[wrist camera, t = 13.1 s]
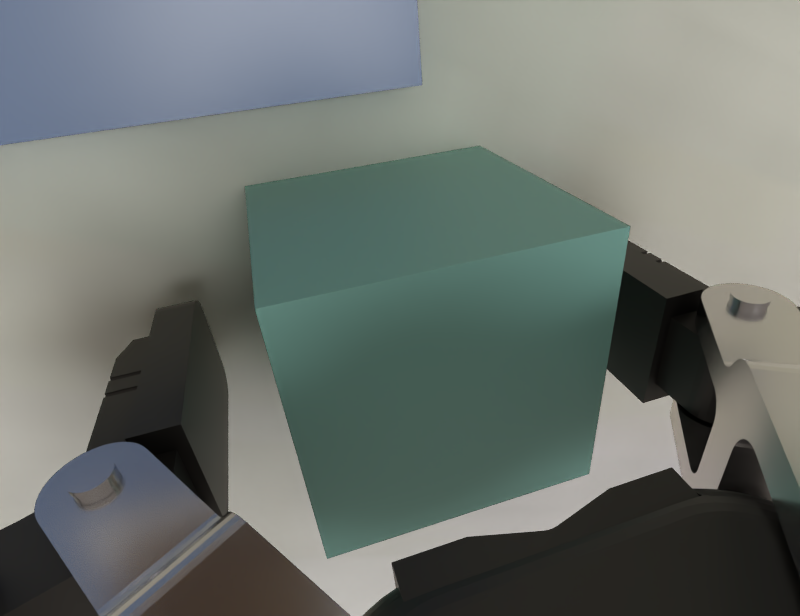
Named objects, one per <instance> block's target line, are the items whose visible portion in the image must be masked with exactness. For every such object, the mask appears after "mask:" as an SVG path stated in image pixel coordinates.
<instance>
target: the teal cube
mask: <svg viewBox="0 0 800 616" xmlns="http://www.w3.org/2000/svg"><path fill="white" fill-rule="evenodd" d="M245 194H246V206H247V219H248V231H249V243H250V256H251V268H252V281H253V293H254V306H255V312H256V315H257V319H258V322H259V325H260V329H261V332H262V336H263V339H264V343H265V346H266V350H267V353H268V356H269V360H270V363H271V367H272V370H273V374H274V377H275V381H276V384H277V387H278V391H279V394H280V398H281V401H282V405H283V408H284V412H285V415H286V419H287V422H288V425H289V429H290V432H291V436H292V439H293V443H294V446H295V450H296V453H297V456H298V460H299V463H300V467H301V470H302V474H303V477H304V481H305V484H306V487H307V491H308V494H309V498H310V501H311V505H312V508H313V512H314V515H315V518H316V522H317V525H318V529H319V532H320V536H321V539H322V543H323V546H324V550H325V553H326V556H327V559H328V558H331V557H334V556H337V555H340V554H344V553H347V552H350V551H353V550H356V549H359V548H362V547H365V546H368V545H371V544H374V543H377V542H381V541H384V540H387V539H390V538H393V537H396V536H399V535H402V534H405V533H408V532H411V531H414V530H417V529H421V528H424V527H427V526H430V525H433V524H436V523H439V522H442V521H445V520H448V519H451V518H454V517H458V516H461V515H464V514H467V513H470V512H473V511H476V510H479V509H482V508H485V507H488V506H491V505H495V504H498V503H501V502H504V501H507V500H510V499H513V498H516V497H519V496H522V495H525V494H528V493H532V492H535V491H538V490H541V489H544V488H547V487H550V486H553V485H556V484H559V483H562V482H565V481H568V480H572V479H575V478H578V477H581V476H584V475H587V474H589V471H590V465H591V459H592V453H593V447H594V441H595V435H596V429H597V423H598V417H599V411H600V405H601V399H602V393H603V387H604V381H605V375H606V369H607V363H608V357H609V351H610V345H611V339H612V333H613V327H614V321H615V315H616V309H617V303H618V297H619V291H620V285H621V279H622V273H623V267H624V261H625V255H626V249H627V243H628V237H629V231H630V226H629V225H627V224H625V223H623V222H621V221H619V220H617V219H616V218H614V217H612V216H610V215H608V214H606V213H604V212H603V211H601V210H599V209H597V208H595V207H593V206H591V205H589V204H588V203H586V202H584V201H582V200H580V199H578V198H576V197H575V196H573V195H571V194H569V193H567V192H565V191H563V190H561V189H560V188H558V187H556V186H554V185H552V184H550V183H548V182H547V181H545V180H543V179H541V178H539V177H537V176H535V175H533V174H532V173H530V172H528V171H526V170H524V169H522V168H520V167H519V166H517V165H515V164H513V163H511V162H509V161H507V160H505V159H504V158H502V157H500V156H498V155H496V154H494V153H492V152H491V151H489V150H487V149H485V148H483V147H481V146H475V147H470V148H464V149H458V150H452V151H447V152H441V153H435V154H429V155H423V156H418V157H412V158H406V159H400V160H395V161H389V162H383V163H377V164H371V165H366V166H360V167H354V168H348V169H342V170H337V171H331V172H325V173H319V174H314V175H308V176H302V177H296V178H290V179H285V180H279V181H273V182H267V183H261V184H256V185H250V186H245Z"/></svg>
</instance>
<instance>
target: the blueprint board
mask: <svg viewBox="0 0 800 616" xmlns="http://www.w3.org/2000/svg"><path fill="white" fill-rule="evenodd" d="M419 85H422V73H421V56H420V40H419V23H418V6H417V0H0V145H5V144H12V143H19V142H26V141H33V140H40V139H47V138H54V137H61V136H68V135H75V134H82V133H89V132H96V131H103V130H110V129H117V128H124V127H131V126H138V125H145V124H152V123H159V122H167V121H174V120H181V119H188V118H195V117H202V116H209V115H216V114H223V113H230V112H237V111H244V110H251V109H258V108H265V107H272V106H279V105H286V104H293V103H300V102H307V101H314V100H321V99H328V98H335V97H342V96H349V95H356V94H363V93H370V92H377V91H384V90H391V89H398V88H405V87H412V86H419Z"/></svg>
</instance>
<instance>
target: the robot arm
mask: <svg viewBox="0 0 800 616" xmlns="http://www.w3.org/2000/svg"><path fill="white" fill-rule="evenodd" d="M607 369H608V370H609V371H610V372H611V373H612V374H613V375H614V376H615V377H616V378H617V379H618V380H619V381H620V382H621V383H622V384H624V385H625V386H626V387H627V388H628V389H629V390H630V391H631V392H632V393H633V394H634V395H635V396H636V397H637V398H638V399H639V400H640V401H641V402H643V403H645V402H648V401H651V400H655V399H658V398H661V397H664V396H668V395H670V396H671V397H672V398H673V403H672V407H671V411H670V418H671V423H672V428H673V434H674V439H675V444H676V449H677V455H678V460H679V465H680V471H681V476H682V477H681V476H680V475H679V474H678V473H677V472H676V471H675V470H674V469H673V468H669V469H666V470H663V471H660V472H657V473H654V474H651V475H648V476H645V477H642V478H639V479H636V480H633V481H630V482H627V483H624V484H622V485H619V486H616V487H613V488H610V489H608V490H607V491H605V492H604V493H602V494H601V495H600V496H598V497H597V498H595V499H594V500H593V501H591V502H590V503H589V504H587V505H586V506H584V507H583V508H582V509H580V510H579V511H577V512H576V513H575V514H573V515H572V516H571V517H569V518H568V519H566V520H565V521H564V522H562V523H561V524H559V525H558V526H556V527H555V528H553V529H550V530H546V531H536V532H524V533H511V534H499V535H486V536H474V537H466V538H463V539H460V540H457V541H454V542H451V543H448V544H445V545H442V546H439V547H436V548H433V549H430V550H427V551H424V552H421V553H418V554H416V555H413V556H410V557H407V558H404V559H401V560H398V561H395V562H392V568H393V573H394V579H395V585H396V589H394V590H393V591H392V592H390V593H389V594H387V595H386V596H384V597H383V598H382V599H380V600H379V601H378V602H377V603H376V604H375V605H374V606H373V607H371V608H370V609H369V610H368V611H367V612H366V613H365V614H364V615H363V616H800V307H796V305H795V304H794V303H793V302H792V301H790V300H789V299H788V298H786V297H785V296H783V295H781V294H779V293H777V292H774V291H772V290H769V289H766V288H763V287H758V286H754V285H748V284H739V283H726V284H718V285H714V286H711V287H708V286H707V285H705V284H703V283H701V282H700V281H698V280H696V279H694V278H693V277H691V276H689V275H688V274H686V273H684V272H682V271H681V270H679V269H677V268H675V267H674V266H672V265H670V264H668V263H667V262H662V261H661V259H660V258H658V257H656V256H654V255H653V254H651V253H649V254H647V251H646V250H644V249H642V248H640V247H639V246H637V245H635V244H633V243H632V242H630V241H628V243H627V249H626V255H625V261H624V267H623V273H622V279H621V285H620V291H619V297H618V303H617V309H616V315H615V321H614V327H613V333H612V339H611V345H610V351H609V357H608V363H607ZM110 379H111V381H109V383H108V386H107V389H106V392H105V395H106V397H105V398H103V401H102V404H101V407H100V411H99V414H98V417H97V420H96V423H95V426H94V429H93V432H92V435H91V438H90V442H89V445H88V448H87V451H86V452H85V453H83V454H81V455H80V456H78V457H76V458H74V459H73V460H72V461H70V462H69V463H67V464H66V465H64V466H63V467H62V468H61V469H60V470H58V471H57V472H56V473H55V474H54V475H53V476H52V477H51V478H50V479H49V481H48V482H47V483H46V484H45V486H44V487H43V488H42V490H41V492H40V493H39V495H38V498H37V500H36V503H35V509H34V511H35V512H34V513H32V514H30V515H29V516H27V517H25V518H23V519H21V520H20V521H18V522H16V523H14V524H12V525H10V526H8V527H6V528H4V529H2V530H0V616H350V615H349V614H348V613H347V612H346V611H345V610H344V609H342V608H341V607H340V606H339V605H338V604H337V603H336V602H335V601H334V600H332V599H331V598H330V597H329V596H328V595H327V594H326V593H325V592H324V591H322V590H321V589H320V588H319V587H318V586H317V585H316V584H315V583H314V582H312V581H311V580H310V579H309V578H308V577H307V576H306V575H305V574H304V573H302V572H301V571H300V570H299V569H298V568H297V567H296V566H295V565H293V564H292V563H291V562H290V561H289V560H288V559H287V558H286V557H285V556H283V555H282V554H281V553H280V552H279V551H278V550H277V549H276V548H275V547H273V546H272V545H271V544H270V543H269V542H268V541H267V540H266V539H265V538H263V537H262V536H261V535H260V534H259V533H258V532H257V531H256V530H255V529H253V528H252V527H251V526H250V525H249V524H248V523H247V522H246V521H244V520H243V519H242V518H241V517H239V516H238V515H237V514H235V513H233V512H228V386H227V380H226V375H225V371H224V367H223V364H222V361H221V358H220V355H219V353H218V350H217V347H216V344H215V342H214V339H213V336H212V333H211V330H210V328H209V325H208V322H207V319H206V317H205V314H204V311H203V309H202V306H201V304H200V303H199V301H197V300H195V301H190V302H186V303H181V304H177V305H172V306H167V307H163V308H158V309H157V310H156V312H155V316H154V320H153V324H152V328H151V332H150V336H149V337H144V338H140V339H136V340H133V341H132V342H131V343H130V344H129V345H128V346H127V347H126V349H125V350H124V351H123V352H122V353H121V354H120V355H119V356H118V357H117V358H116V361H115V364H114V367H113V370H112V373H111V376H110Z"/></svg>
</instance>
